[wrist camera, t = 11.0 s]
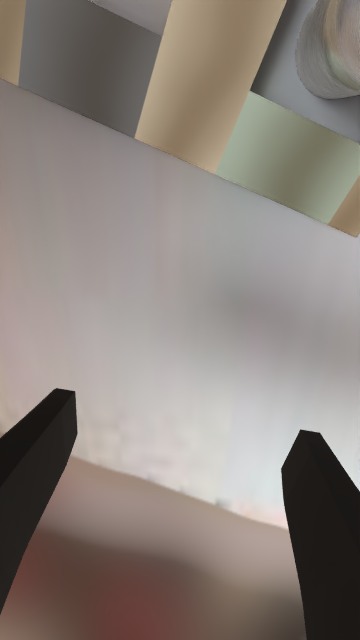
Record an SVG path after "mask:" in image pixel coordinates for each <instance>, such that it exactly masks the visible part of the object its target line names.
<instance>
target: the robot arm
mask: <svg viewBox="0 0 360 640" xmlns="http://www.w3.org/2000/svg"><path fill="white" fill-rule="evenodd" d="M76 437H77V416H76V398H75V391H70V390H64V389H58V388H56V389H54V390H53V391H52V392H51V393H50V394H49V395H48V396H47V397H45V398H44V399H43V400H42V401H41V402H40V403H39V404H38V405H37V406H36V407H35V408H34V409H33V410H31V411H30V412H29V413H28V414H27V415H26V416H25V417H24V418H23V419H22V420H20V421H19V422H18V423H17V424H16V425H15V426H14V427H12V428H11V429H10V430H9V431H8V432H7V433H5V434H4V435H3V436H2V437H1V438H0V614H1V611H2V609H3V606H4V603H5V601H6V598H7V595H8V593H9V590H10V588H11V585H12V583H13V580H14V577H15V575H16V572H17V569H18V567H19V565H20V562H21V560H22V556H23V554H24V552H25V550H26V548H27V546H28V543H29V541H30V539H31V537H32V535H33V533H34V531H35V528H36V526H37V524H38V522H39V520H40V518H41V516H42V514H43V512H44V510H45V508H46V506H47V504H48V502H49V500H50V498H51V496H52V494H53V492H54V490H55V487H56V485H57V483H58V481H59V479H60V477H61V475H62V473H63V471H64V469H65V467H66V465H67V462H68V459H69V456H70V454H71V451H72V448H73V445H74V442H75V440H76ZM281 473H282V488H283V499H284V506H285V512H286V517H287V522H288V528H289V533H290V538H291V543H292V548H293V553H294V558H295V563H296V568H297V573H298V579H299V583H300V590H301V596H302V601H303V610H304V619H305V628H306V637H307V640H360V491H359V490H358V488H357V487H356V486H355V484H354V483H353V481H352V480H351V478H350V477H349V475H348V474H347V472H346V471H345V470H344V468H343V467H342V465H341V464H340V462H339V461H338V459H337V458H336V456H335V455H334V453H333V452H332V450H331V449H330V447H329V446H328V444H327V443H326V441H325V440H324V438H323V437H322V435H321V434H320V433H318V432H312V431H306V430H300V431H299V433H298V436H297V438H296V440H295V442H294V444H293V446H292V448H291V450H290V452H289V454H288V456H287V458H286V460H285V462H284V464H283V466H282V468H281Z"/></svg>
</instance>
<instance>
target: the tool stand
mask: <svg viewBox="0 0 360 640" xmlns="http://www.w3.org/2000/svg"><path fill="white" fill-rule="evenodd" d="M286 2H287V0H172V3H171V7H170V11H169V14H168V18H167V21H166V25H165V29H164V32H163V36H162V37H161V36H159V35H157V34H155V33H153V32H151V31H149V30H147V29H145V28H143V27H141V26H139V25H137V24H135V23H133V22H131V21H128V20H126V19H124V18H122V17H120V16H118V15H116V14H114V13H112V12H110V11H108V10H106V9H104V8H102V7H100V6H98V5H96V4H94V3H92V2H90V1H88V0H0V78H1V79H3V80H5V81H8V82H10V83H12V84H14V85H16V86H19V87H21V88H23V89H25V90H28V91H30V92H32V93H34V94H37V95H39V96H41V97H43V98H45V99H48V100H50V101H52V102H54V103H57V104H59V105H61V106H63V107H66V108H68V109H70V110H72V111H74V112H77V113H79V114H81V115H83V116H86V117H88V118H90V119H92V120H95V121H97V122H99V123H101V124H104V125H106V126H108V127H110V128H112V129H115V130H117V131H119V132H121V133H124V134H126V135H128V136H130V137H133V138H135V139H137V140H139V141H141V142H144V143H146V144H148V145H150V146H153V147H155V148H157V149H159V150H162V151H164V152H166V153H168V154H170V155H173V156H175V157H177V158H179V159H182V160H184V161H186V162H188V163H191V164H193V165H195V166H197V167H199V168H202V169H204V170H206V171H208V172H211V173H213V174H215V175H217V176H220V177H222V178H224V179H226V180H228V181H231V182H233V183H235V184H237V185H240V186H242V187H244V188H246V189H249V190H251V191H253V192H255V193H258V194H260V195H262V196H264V197H266V198H269V199H271V200H273V201H275V202H278V203H280V204H282V205H284V206H287V207H289V208H291V209H293V210H295V211H298V212H300V213H302V214H304V215H307V216H309V217H311V218H313V219H316V220H318V221H320V222H322V223H324V224H327V225H329V226H331V227H333V228H336V229H338V230H340V231H342V232H345V233H347V234H349V235H351V236H353V237H357V236H358V234H359V233H360V144H358V143H356V142H354V141H352V140H350V139H348V138H346V137H344V136H342V135H340V134H338V133H336V132H334V131H332V130H330V129H328V128H326V127H323V126H321V125H319V124H317V123H315V122H313V121H311V120H309V119H307V118H305V117H303V116H301V115H299V114H297V113H295V112H293V111H291V110H288V109H286V108H284V107H282V106H280V105H278V104H276V103H274V102H272V101H270V100H268V99H266V98H264V97H262V96H260V95H258V94H256V93H253V92H251V91H249V90H250V88H251V86H252V83H253V81H254V78H255V76H256V74H257V71H258V69H259V66H260V64H261V62H262V59H263V57H264V54H265V52H266V50H267V47H268V45H269V42H270V40H271V38H272V35H273V33H274V30H275V28H276V26H277V23H278V21H279V18H280V16H281V14H282V11H283V9H284V6H285V4H286Z"/></svg>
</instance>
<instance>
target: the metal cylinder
mask: <svg viewBox="0 0 360 640" xmlns="http://www.w3.org/2000/svg"><path fill="white" fill-rule="evenodd" d="M295 60H296V68H297V72H298V75H299V77H300V80H301V81H302V83H303V85H304V86H305V87H306V88H307V89H308V90H309V91H310V92H311V93H312V94H314V95H316V96H318V97H321V98H324V99H338V98H344V97H350V96H356V95H360V0H318V2H317V3H316V4H315V5H314V6H313V8H312V9H311V10H310V12H309V13H308V15H307V17H306V18H305V20H304V22H303V24H302V27H301V29H300V32H299V35H298V39H297V44H296V52H295Z"/></svg>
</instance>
